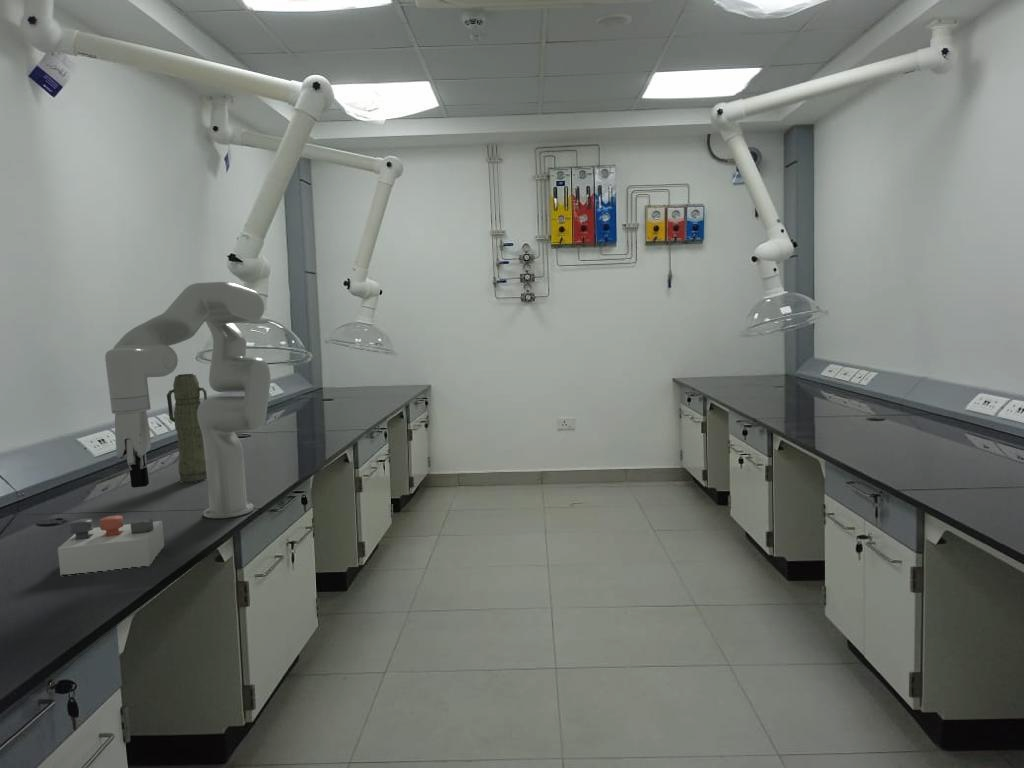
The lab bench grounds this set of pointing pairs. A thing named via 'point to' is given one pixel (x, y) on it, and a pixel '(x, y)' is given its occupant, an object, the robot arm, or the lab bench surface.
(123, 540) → the control box
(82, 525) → the grey knob
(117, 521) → the red knob
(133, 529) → the grey knob
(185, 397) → the thermos
